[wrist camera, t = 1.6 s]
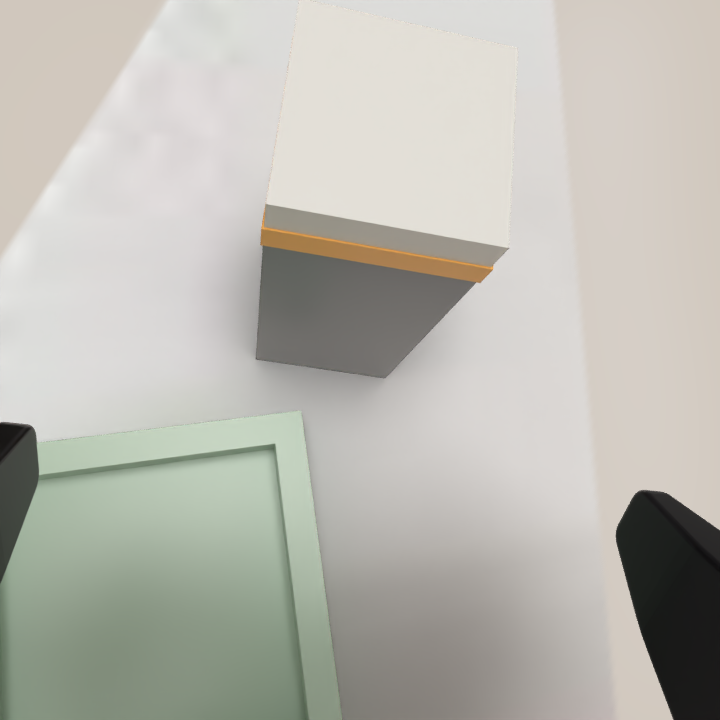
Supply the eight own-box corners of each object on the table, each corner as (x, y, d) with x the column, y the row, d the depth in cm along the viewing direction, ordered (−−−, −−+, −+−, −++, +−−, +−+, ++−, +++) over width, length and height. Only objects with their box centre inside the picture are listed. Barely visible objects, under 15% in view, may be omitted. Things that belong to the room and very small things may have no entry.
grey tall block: (386, 379, 24) (510, 250, 13) (254, 360, 24) (262, 205, 12) (398, 259, 26) (520, 46, 14) (273, 237, 25) (296, -5, 14)
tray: (339, 746, 21) (349, 768, 19) (-26, 832, 19) (-57, 868, 17) (296, 419, 23) (300, 410, 21) (-31, 460, 21) (-58, 454, 19)
